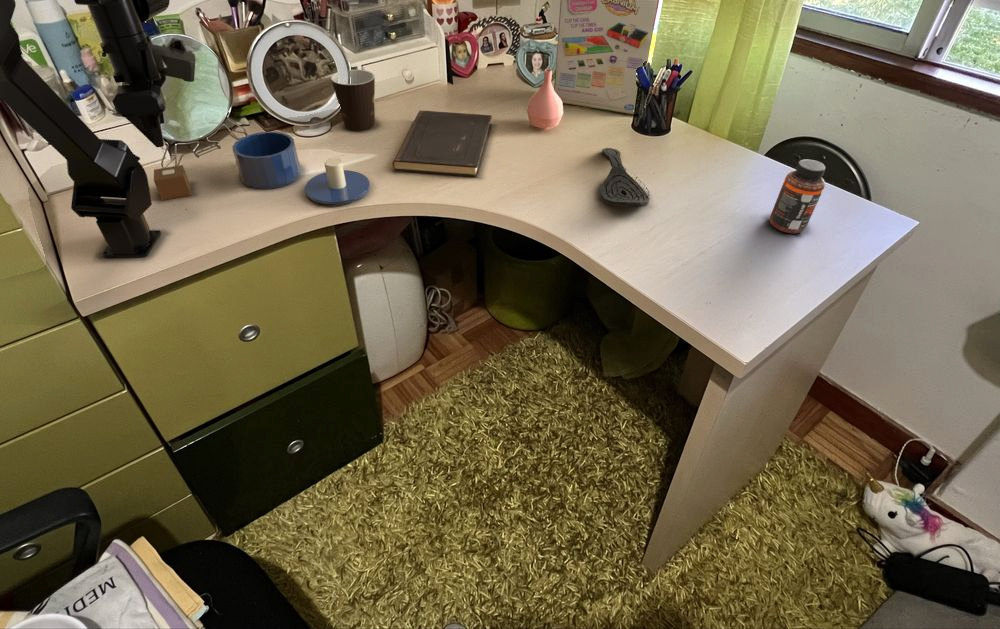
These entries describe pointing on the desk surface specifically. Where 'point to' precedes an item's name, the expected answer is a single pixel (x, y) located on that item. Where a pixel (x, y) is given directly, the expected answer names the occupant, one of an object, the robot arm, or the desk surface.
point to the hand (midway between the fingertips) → (160, 134)
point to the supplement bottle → (798, 197)
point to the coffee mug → (356, 99)
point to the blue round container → (267, 160)
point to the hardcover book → (444, 144)
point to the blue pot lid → (337, 184)
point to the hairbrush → (621, 184)
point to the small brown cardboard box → (172, 182)
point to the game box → (604, 51)
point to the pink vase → (545, 105)
